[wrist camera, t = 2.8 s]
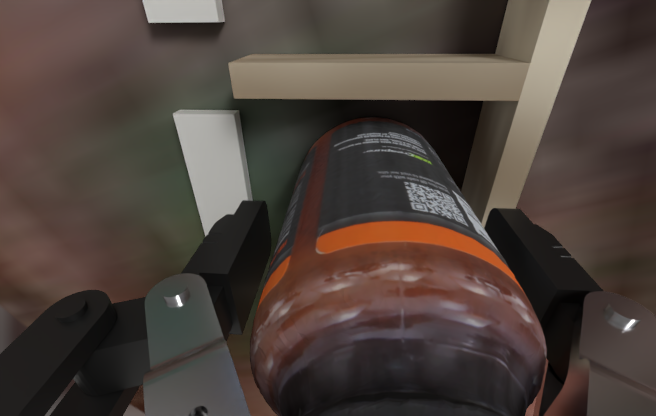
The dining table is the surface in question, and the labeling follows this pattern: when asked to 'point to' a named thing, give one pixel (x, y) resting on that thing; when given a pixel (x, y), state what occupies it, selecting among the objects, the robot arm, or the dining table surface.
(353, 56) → the divider rack
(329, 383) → the supplement bottle
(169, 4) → the bezel tiles
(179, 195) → the dining table surface
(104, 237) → the dining table surface
